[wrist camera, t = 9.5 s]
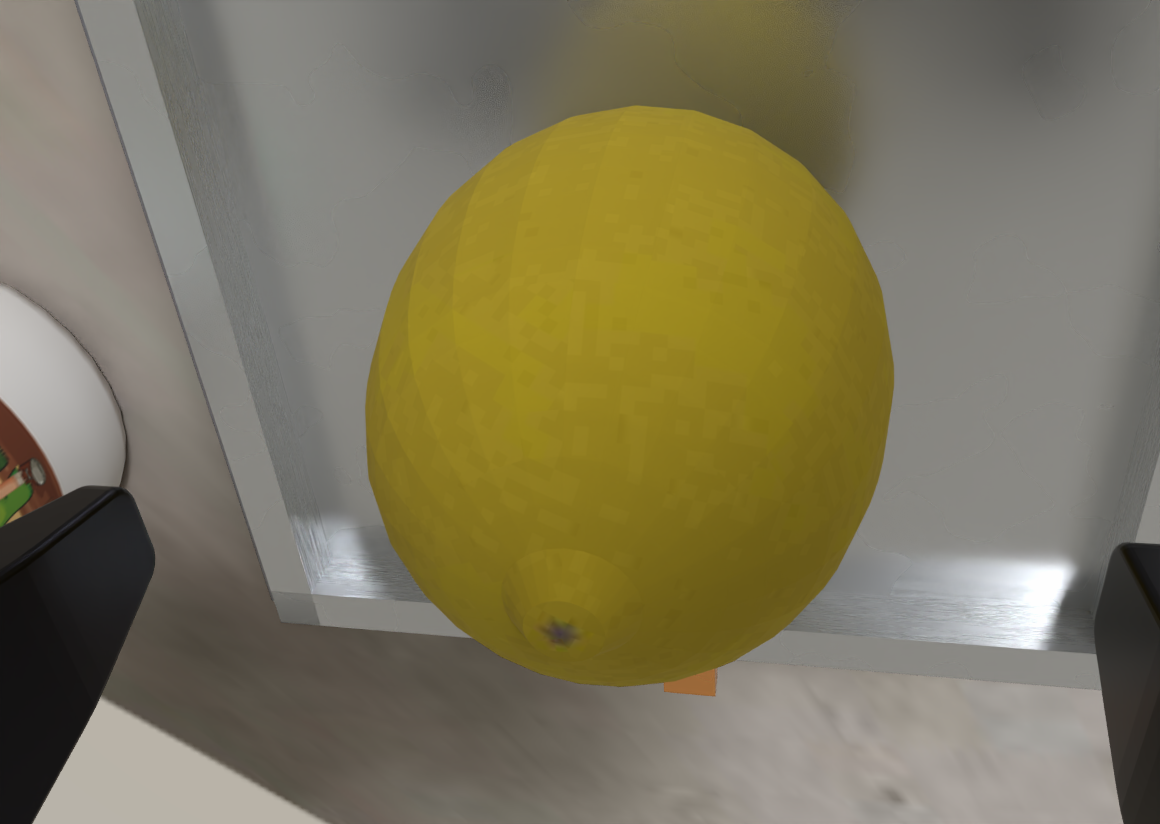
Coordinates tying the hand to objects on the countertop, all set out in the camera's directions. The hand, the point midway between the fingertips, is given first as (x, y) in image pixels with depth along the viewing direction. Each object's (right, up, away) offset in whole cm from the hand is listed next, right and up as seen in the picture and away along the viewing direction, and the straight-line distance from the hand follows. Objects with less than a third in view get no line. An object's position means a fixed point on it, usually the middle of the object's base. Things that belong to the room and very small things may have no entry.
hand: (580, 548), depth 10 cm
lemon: (+1, +4, +5) cm, 7 cm away
